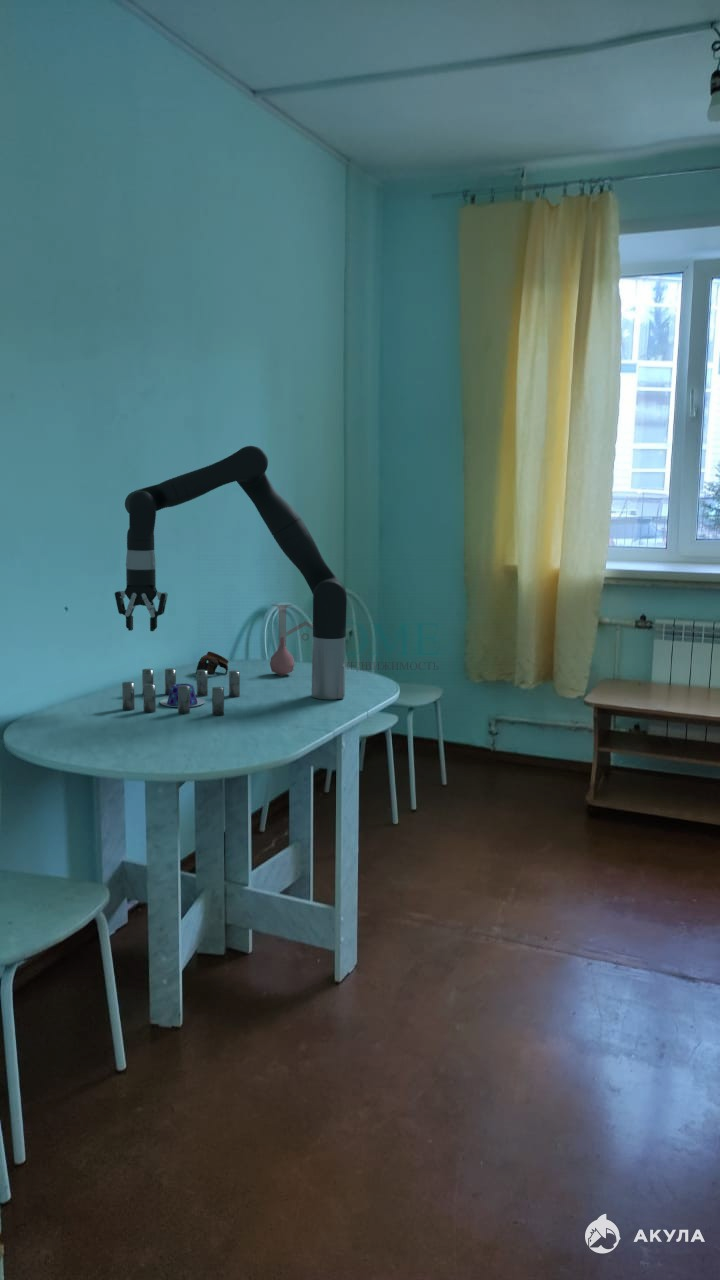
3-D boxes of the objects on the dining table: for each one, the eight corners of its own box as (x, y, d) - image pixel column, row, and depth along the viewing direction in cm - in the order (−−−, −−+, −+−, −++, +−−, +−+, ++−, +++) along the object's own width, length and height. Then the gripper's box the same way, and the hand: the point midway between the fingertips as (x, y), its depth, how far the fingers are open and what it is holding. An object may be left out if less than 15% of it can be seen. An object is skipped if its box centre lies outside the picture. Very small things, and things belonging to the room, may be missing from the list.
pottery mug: (192, 673, 292) (203, 650, 293) (219, 686, 293) (230, 663, 295) (194, 671, 280) (206, 647, 282) (223, 685, 282) (234, 660, 283)
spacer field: (240, 695, 261) (240, 670, 260) (222, 716, 237) (222, 689, 235) (146, 691, 263) (146, 667, 262) (118, 712, 238) (118, 685, 237)
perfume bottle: (293, 677, 287) (293, 639, 285) (268, 677, 287) (269, 639, 285) (295, 673, 295) (295, 635, 293) (271, 672, 295) (271, 635, 293)
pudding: (156, 709, 244) (155, 689, 243) (164, 699, 255) (164, 680, 255) (201, 710, 244) (201, 690, 243) (207, 699, 256) (207, 681, 255)
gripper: (171, 566, 248) (171, 629, 250) (118, 565, 248) (119, 627, 251) (164, 569, 240) (164, 633, 243) (109, 567, 241) (110, 631, 244)
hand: (141, 630), depth 247 cm, fingers open, 5 cm apart
